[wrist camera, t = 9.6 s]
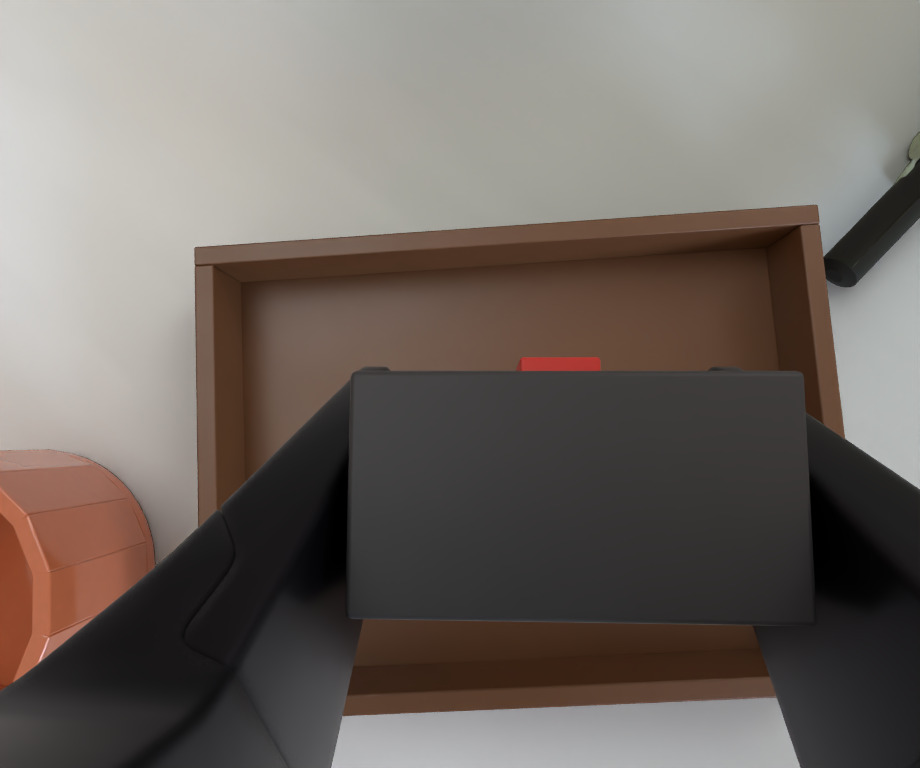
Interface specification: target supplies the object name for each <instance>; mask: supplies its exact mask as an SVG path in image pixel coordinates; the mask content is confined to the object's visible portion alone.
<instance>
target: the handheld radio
mask: <svg viewBox="0 0 920 768" xmlns="http://www.w3.org/2000/svg"><path fill="white" fill-rule="evenodd" d="M909 158H911V159H912V160H911V162H910V163H909V164H908V166H907V167H906V168H905V170H904V171H903V172H902V174H901V175H900V176H899V178H898V179H897V181H896V182H895V183H894V185H893V186H892V187H891V188H890V189H889V190H888V191H887V192H886V193H885V194H884V196H883V197H882V198H881V199H880V200H879V201H878V202H877V203H876V204H875V205H874V206H873V207H872V208H871V209H870V210H869V211H868V212H867V213H866V214H865V215H864V216H863V217H862V218H861V219H860V220H859V221H858V222H857V223H856V224H855V225H854V226H853V227H852V229H851V230H850V231H849V232H848V233H847V234H846V235H845V236H844V237H843V238H842V239H841V240H840V241H839V242H838V243H837V244H836V245H835V246H834V247H833V248H832V249H831V250H830V251H829V252H828V253H827V254H826V255H825V256H824V257H823V259H824V267H825V275H826V279H827V280H828V281H830V282H831V283H833V284H835V285H837V286H840V287H852V286H854V285H855V284H856V283H857V282H858V281H859V280H860V279H861V278H862V277H863V276H864V275H865V274H866V273H867V272H868V271H869V270H870V269H871V268H872V267H873V266H874V265H875V263H876V262H877V261H878V260H879V259H880V258H881V257H882V256H883V255H884V254H885V253H886V252H887V251H888V250H889V249H890V248H891V247H892V246H893V245H894V244H895V243H896V242H897V241H898V240H899V239H900V238H901V236H902V235H903V234H904V233H905V232H906V231H907V230H908V229H909V228H910V227H911V226H912V225H913V224H914V223H915V222H916V221H917V220H918V219H919V218H920V132H919V133H918V134H917V135H916V136H915V138H914V139H913V141H912V143H911V146H910V149H909Z"/></svg>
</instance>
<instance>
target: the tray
mask: <svg viewBox="0 0 920 768" xmlns="http://www.w3.org/2000/svg"><path fill="white" fill-rule="evenodd" d="M818 224H819V214H818V206H817V205H805V206H790V207H776V208H761V209H747V210H732V211H717V212H703V213H688V214H674V215H659V216H645V217H630V218H616V219H601V220H586V221H572V222H557V223H543V224H528V225H514V226H499V227H485V228H470V229H455V230H441V231H426V232H412V233H397V234H383V235H368V236H354V237H339V238H324V239H310V240H295V241H281V242H266V243H252V244H237V245H223V246H208V247H195V318H196V389H197V461H198V527H199V526H201V525H202V524H203V523H204V522H205V521H206V520H207V519H208V518H209V517H210V516H211V515H212V514H213V513H214V512H215V511H216V510H220V511H221V509H220V507H221V505H222V504H223V503H224V502H225V501H226V500H227V499H228V498H229V497H230V496H231V495H232V494H233V493H235V492H236V491H237V490H238V489H239V488H240V487H241V486H242V485H243V484H244V483H245V482H246V481H247V480H248V479H249V478H250V477H251V476H252V475H253V474H254V473H255V472H256V471H257V470H258V469H259V468H260V467H261V466H262V465H263V464H264V463H265V462H266V461H267V460H268V459H269V458H270V457H271V456H272V455H273V454H274V453H275V452H276V451H277V450H278V449H279V448H280V447H282V446H283V445H284V444H285V443H286V442H287V441H288V440H289V439H290V438H291V437H292V436H293V435H294V434H295V433H296V432H297V431H298V430H299V429H300V428H301V427H302V426H303V425H304V424H305V423H306V422H307V421H308V420H309V419H310V418H311V417H312V416H313V415H314V414H315V413H316V412H317V411H318V410H319V409H320V408H321V407H322V406H323V405H324V404H325V403H326V402H327V401H329V400H330V399H331V398H332V397H333V396H334V395H335V394H336V393H337V392H338V391H339V390H340V389H341V388H342V387H343V386H344V385H345V384H346V383H347V382H348V381H349V380H350V377H351V375H352V373H353V372H355V371H359V370H360V369H361V368H363V367H388V368H389V369H390V371H516V368H517V366H518V364H519V361H520V359H521V358H523V357H598V358H600V365H601V371H708V370H709V369H710V368H712V367H739V368H741V369H742V370H744V371H798V372H800V373H802V374H803V376H804V390H805V409H806V413H807V414H809V415H810V416H812V417H813V418H815V419H816V420H818V421H819V422H821V423H822V424H824V425H825V426H827V427H828V428H830V429H831V430H833V431H834V432H835V433H837V434H838V435H840V436H841V437H843V438H844V439H845V435H844V426H843V418H842V410H841V401H840V393H839V384H838V376H837V368H836V359H835V351H834V343H833V334H832V326H831V317H830V309H829V301H828V292H827V284H826V275H825V267H824V259H823V250H822V242H821V234H820V226H819V225H818ZM752 698H776V694H775V691H774V688H773V685H772V682H771V679H770V676H769V673H768V670H767V667H766V664H765V661H764V658H763V655H762V652H761V649H760V646H759V643H758V641H757V638H756V635H755V632H754V629H753V626H752V625H698V624H637V623H575V622H513V621H451V620H390V619H363V624H362V628H361V633H360V637H359V642H358V646H357V651H356V656H355V660H354V665H353V669H352V674H351V678H350V683H349V688H348V692H347V697H346V701H345V706H344V711H343V715H342V716H353V715H377V714H400V713H424V712H447V711H471V710H494V709H518V708H541V707H565V706H588V705H612V704H635V703H659V702H682V701H705V700H729V699H752Z"/></svg>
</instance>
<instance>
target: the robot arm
mask: <svg viewBox="0 0 920 768" xmlns="http://www.w3.org/2000/svg"><path fill="white" fill-rule="evenodd" d="M359 371H390V369H389V368H388V367H363V368H361V369H360V370H359ZM708 371H744V370H742V369H741V368H739V367H712V368H710V369H709V370H708ZM349 420H350V380H349V381H348V382H347V383H346V384H345V385H344V386H343V387H342V388H341V389H340V390H339V391H338V392H337V393H336V394H335V395H334V396H333V397H332V398H331V399H330V400H329V401H327V402H326V403H325V404H324V405H323V406H322V407H321V408H320V409H319V410H318V411H317V412H316V413H315V414H314V415H313V416H312V417H311V418H310V419H309V420H308V421H307V422H306V423H305V424H304V425H303V426H302V427H301V428H300V429H299V430H298V431H297V432H296V433H295V434H294V435H293V436H292V437H291V438H290V439H289V440H288V441H287V442H286V443H285V444H284V445H283V446H282V447H280V448H279V449H278V450H277V451H276V452H275V453H274V454H273V455H272V456H271V457H270V458H269V459H268V460H267V461H266V462H265V463H264V464H263V465H262V466H261V467H260V468H259V469H258V470H257V471H256V472H255V473H254V474H253V475H252V476H251V477H250V478H249V479H248V480H247V481H246V482H245V483H244V484H243V485H242V486H241V487H240V488H239V489H238V490H237V491H236V492H235V493H233V494H232V495H231V496H230V497H229V498H228V499H227V500H226V501H225V502H224V503H223V504H222V505H221V507H220V509H221V511H220V510H216V511H215V512H214V513H213V514H212V515H211V516H210V517H209V518H208V519H207V520H206V521H205V522H204V523H203V524H202V525H201V526H199V527H198V528H197V529H196V530H195V531H194V532H193V533H192V534H191V535H190V536H189V537H188V538H187V539H186V540H185V541H183V542H182V543H181V544H180V545H179V546H178V547H177V548H176V549H175V550H174V551H173V552H172V553H171V554H170V555H168V556H167V557H166V558H165V559H164V560H163V561H162V562H160V563H159V564H158V565H157V566H156V567H155V568H153V569H152V570H151V571H150V572H149V573H148V574H146V575H145V576H144V577H143V578H142V579H141V580H139V581H138V582H137V583H136V584H135V585H133V586H132V587H131V588H130V589H129V590H128V591H126V592H125V593H124V594H123V595H121V596H120V597H119V598H118V599H117V600H115V601H114V602H113V603H112V604H110V605H109V606H108V607H107V608H106V609H104V610H103V611H102V612H101V613H99V614H98V615H97V616H96V617H95V618H93V619H92V620H91V621H90V622H88V623H87V624H86V625H85V626H84V627H82V628H81V629H80V630H79V631H77V632H76V633H75V634H74V635H73V636H71V637H70V638H69V639H68V640H66V641H65V642H64V643H63V644H62V645H60V646H59V647H58V648H57V649H55V650H54V651H53V652H52V653H51V654H49V655H48V656H47V657H46V658H45V659H43V660H42V661H41V662H40V663H38V664H37V665H36V666H35V667H33V668H32V669H31V670H29V671H28V672H27V673H25V674H24V675H23V676H21V677H20V678H19V679H17V680H16V681H14V682H13V683H11V684H10V685H8V686H7V687H5V688H4V689H2V690H1V691H0V768H331V765H332V761H333V756H334V752H335V747H336V743H337V738H338V733H339V729H340V724H341V720H342V715H343V711H344V706H345V701H346V697H347V692H348V688H349V683H350V678H351V674H352V669H353V665H354V660H355V656H356V651H357V646H358V642H359V637H360V633H361V628H362V624H363V619H351V618H348V617H347V616H346V613H345V593H346V550H347V507H348V464H349ZM806 428H807V447H808V466H809V485H810V504H811V523H812V542H813V561H814V580H815V599H816V618H817V621H816V624H815V625H812V626H760V625H752V626H753V629H754V632H755V635H756V638H757V641H758V643H759V646H760V649H761V652H762V655H763V658H764V661H765V664H766V667H767V670H768V673H769V676H770V679H771V682H772V685H773V688H774V691H775V694H776V697H777V700H778V702H779V705H780V708H781V711H782V714H783V717H784V720H785V723H786V726H787V729H788V732H789V735H790V738H791V741H792V744H793V747H794V750H795V753H796V756H797V759H798V761H799V764H800V767H801V768H920V489H918V488H917V487H915V486H914V485H912V484H911V483H909V482H908V481H906V480H905V479H903V478H902V477H900V476H899V475H898V474H896V473H895V472H893V471H892V470H890V469H889V468H887V467H886V466H884V465H883V464H881V463H880V462H878V461H877V460H875V459H874V458H872V457H871V456H869V455H868V454H867V453H865V452H864V451H862V450H861V449H859V448H858V447H856V446H855V445H853V444H852V443H850V442H849V441H847V440H846V439H844V438H843V437H841V436H840V435H838V434H837V433H835V432H834V431H833V430H831V429H830V428H828V427H827V426H825V425H824V424H822V423H821V422H819V421H818V420H816V419H815V418H813V417H812V416H810V415H809V414H807V413H806Z"/></svg>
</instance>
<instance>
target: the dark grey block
mask: <svg viewBox="0 0 920 768" xmlns="http://www.w3.org/2000/svg"><path fill="white" fill-rule="evenodd" d="M345 613H346V616H347V617H348V618H351V619H390V620H451V621H513V622H575V623H637V624H698V625H760V626H812V625H815V624H816V621H817V618H816V599H815V580H814V561H813V542H812V523H811V504H810V485H809V466H808V447H807V428H806V409H805V390H804V376H803V374H802V373H800V372H798V371H601V365H600V358H598V357H523V358H521V359H520V361H519V364H518V366H517V368H516V371H355V372H353V373H352V375H351V377H350V420H349V464H348V507H347V550H346V593H345Z"/></svg>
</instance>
